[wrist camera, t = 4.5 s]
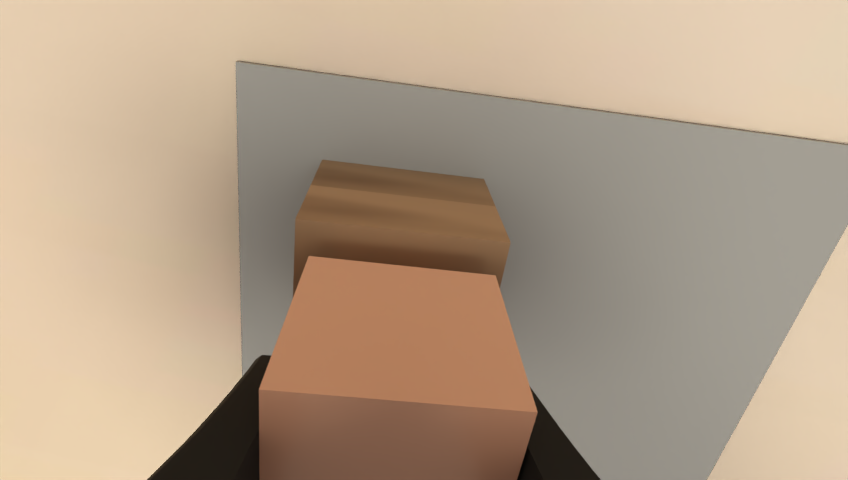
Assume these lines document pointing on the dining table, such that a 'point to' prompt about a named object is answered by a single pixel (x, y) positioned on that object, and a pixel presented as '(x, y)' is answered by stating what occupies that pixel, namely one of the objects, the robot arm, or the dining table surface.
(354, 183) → the tower bottom
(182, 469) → the robot arm
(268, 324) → the mat
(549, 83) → the dining table surface
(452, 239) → the tower top
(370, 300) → the cube
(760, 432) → the dining table surface
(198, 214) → the dining table surface
